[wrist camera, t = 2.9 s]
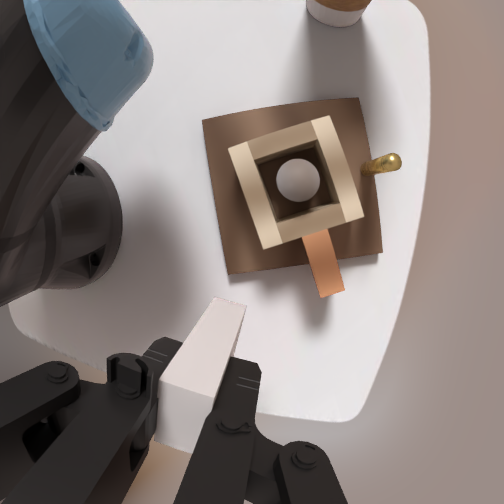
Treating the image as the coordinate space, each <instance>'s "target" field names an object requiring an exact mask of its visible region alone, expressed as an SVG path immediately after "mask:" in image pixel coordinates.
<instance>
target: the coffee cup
mask: <svg viewBox="0 0 504 504" xmlns="http://www.w3.org/2000/svg"><path fill="white" fill-rule="evenodd" d="M370 2H371V0H306V6H307V9H308V11H309V13H310V14H311V15H312V16H313V17H314V18H315V19H317V20H318V21H320V22H322V23H324V24H326V25H329V26H334V27H347V26H350V25H353V24H355V23H356V22H357V21H358V20H359V19H360V17H361V15H362V14H363V12H364V11H365V9H366V7H367V6H368V4H369V3H370Z"/></svg>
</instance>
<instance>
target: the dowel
mask: <svg viewBox="0 0 504 504" xmlns="http://www.w3.org/2000/svg"><path fill="white" fill-rule="evenodd" d="M401 165H402V161H401V158H400V157H399V155H397V154H395V153H390V154H387V155H385V156H382V157H379V158H376V159H374V160H371V161H368V162H365V163H363V164H362V165H361V167H360V170H361V173H362V174H363V175H365V176H370V175H375V174H380V173H385V172H391V171H396V170H398V169H400V167H401Z"/></svg>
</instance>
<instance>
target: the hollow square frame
mask: <svg viewBox="0 0 504 504" xmlns="http://www.w3.org/2000/svg"><path fill="white" fill-rule="evenodd" d="M312 147H313V150H314V152H315V155H316V158H317V161H318V163H319V166H320V169H321V172H322V175H323V178H324V181H325V184H326V187H327V190H328V193H329V196H330V199H331V202H329V203H326V204H323V205H320V206H317V207H314V208H311V209H308V210H305V211H301V212H298V213H295V214H292V215H289V216H286V217H283V218H280V219H277V217H276V215H275V212H274V209H273V206H272V203H271V200H270V197H269V194H268V192H267V189H266V186H265V183H264V180H263V177H262V175H261V172H260V169H259V166H258V165H260V164H263V163H266V162H269V161H272V160H275V159H278V158H281V157H284V156H287V155H290V154H293V153H296V152H299V151H303V150H306V149H309V148H312ZM228 151H229V153H230V156H231V159H232V162H233V165H234V167H235V170H236V173H237V176H238V179H239V181H240V184H241V187H242V190H243V193H244V196H245V198H246V201H247V204H248V207H249V210H250V213H251V215H252V218H253V221H254V224H255V227H256V230H257V233H258V235H259V238H260V241H261V244H262V247H263V250H264V249H267V248H270V247H273V246H276V245H279V244H282V243H285V242H288V241H291V240H294V239H297V238H300V237H301V238H302V241H303V244H304V247H305V251H306V254H307V257H308V260H309V263H310V266H311V270H312V273H313V276H314V280H315V283H316V286H317V289H318V292H319V294H320V297H321V298H322V297H326V296H329V295H332V294H335V293H338V292H341V291H344V290H345V288H344V285H343V281H342V277H341V274H340V270H339V266H338V263H337V259H336V256H335V252H334V249H333V245H332V242H331V239H330V235H329V232H328V228H331V227H334V226H337V225H340V224H343V223H346V222H349V221H352V220H356V219H359V218H362V217H364V213H363V210H362V207H361V203H360V200H359V197H358V194H357V190H356V187H355V184H354V181H353V178H352V175H351V172H350V169H349V166H348V163H347V160H346V158H345V155H344V152H343V149H342V147H341V144H340V141H339V139H338V136H337V133H336V131H335V128H334V126H333V123H332V121H331V118H330V116H325V117H322V118H318V119H315V120H311V121H308V122H304V123H301V124H298V125H295V126H291V127H288V128H285V129H282V130H279V131H276V132H273V133H270V134H267V135H264V136H261V137H258V138H255V139H252V140H249V141H247V142H244V143H241V144H238V145H236V146H233V147H230V148H228Z"/></svg>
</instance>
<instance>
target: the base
mask: <svg viewBox="0 0 504 504" xmlns="http://www.w3.org/2000/svg"><path fill="white" fill-rule="evenodd" d="M325 116H330V118H331V121H332V123H333V126H334V128H335V131H336V133H337V136H338V139H339V141H340V144H341V147H342V149H343V152H344V155H345V158H346V160H347V163H348V166H349V169H350V172H351V175H352V178H353V181H354V184H355V187H356V190H357V194H358V197H359V200H360V203H361V207H362V210H363V213H364V217H362V218H359V219H356V220H352V221H349V222H346V223H343V224H340V225H337V226H334V227H331V228H328V232H329V235H330V239H331V242H332V245H333V249H334V252H335V256H336V259H337V260H338V259H345V258H351V257H358V256H365V255H371V254H377V253H383V249H382V237H381V226H380V216H379V208H378V199H377V192H376V185H375V178H374V175H370V176H365V175H363V174H362V173H361V170H360V167H361V165H362V164H363V163H365V162H368V161H371V160H372V159H371V154H370V148H369V143H368V138H367V133H366V128H365V123H364V119H363V114H362V110H361V106H360V102H359V98H344V99H330V100H319V101H309V102H301V103H293V104H285V105H278V106H271V107H265V108H259V109H253V110H248V111H242V112H237V113H232V114H227V115H223V116H218V117H213V118H209V119H205V120H202V124H203V131H204V137H205V144H206V150H207V157H208V163H209V169H210V175H211V181H212V187H213V193H214V199H215V205H216V211H217V217H218V222H219V228H220V234H221V239H222V245H223V250H224V256H225V261H226V267H227V272H228V275H230V274H238V273H245V272H253V271H260V270H268V269H275V268H282V267H289V266H297V265H304V264H310V263H309V260H308V257H307V254H306V251H305V247H304V244H303V241H302V238H301V237H300V238H297V239H294V240H291V241H288V242H285V243H282V244H279V245H276V246H273V247H270V248H267V249H264V250H263V247H262V244H261V241H260V238H259V235H258V233H257V230H256V227H255V224H254V221H253V218H252V215H251V213H250V210H249V207H248V204H247V201H246V198H245V196H244V193H243V190H242V187H241V184H240V181H239V179H238V176H237V173H236V170H235V167H234V165H233V162H232V159H231V156H230V153H229V151H228V148H230V147H233V146H236V145H238V144H241V143H244V142H247V141H249V140H252V139H255V138H258V137H261V136H264V135H267V134H270V133H273V132H276V131H279V130H282V129H285V128H288V127H291V126H295V125H298V124H301V123H304V122H308V121H311V120H315V119H318V118H322V117H325ZM258 166H259V169H260V172H261V175H262V177H263V180H264V183H265V186H266V189H267V192H268V194H269V197H270V200H271V203H272V206H273V209H274V212H275V215H276V217H277V219H280V218H283V217H286V216H289V215H292V214H295V213H298V212H301V211H305V210H308V209H311V208H314V207H317V206H320V205H323V204H326V203H329V202H331V199H330V196H329V193H328V190H327V187H326V184H325V181H324V178H323V175H322V172H321V169H320V166H319V163H318V161H317V158H316V155H315V152H314V150H313V147H312V148H309V149H306V150H303V151H299V152H296V153H293V154H290V155H287V156H284V157H281V158H278V159H275V160H272V161H269V162H266V163H263V164H260V165H258Z"/></svg>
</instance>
